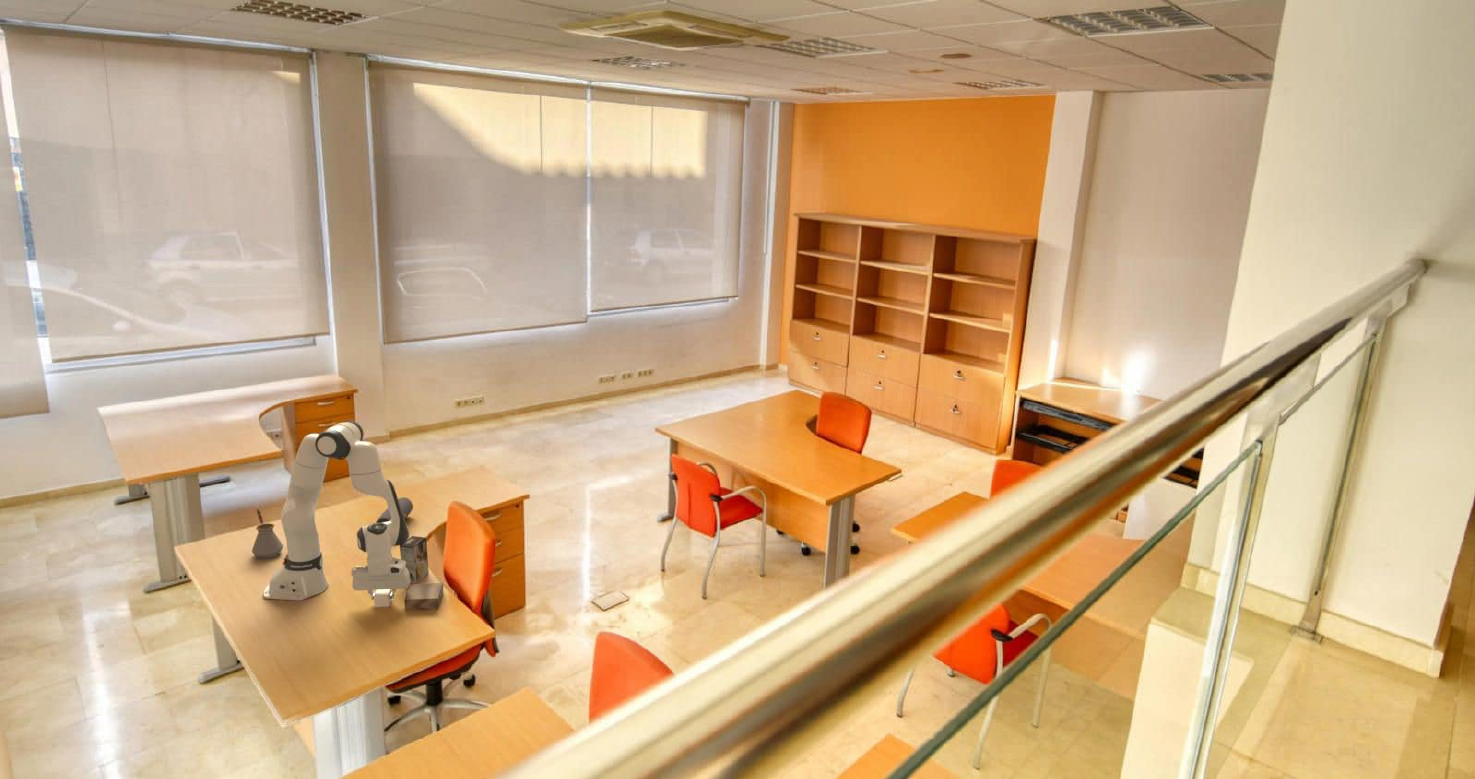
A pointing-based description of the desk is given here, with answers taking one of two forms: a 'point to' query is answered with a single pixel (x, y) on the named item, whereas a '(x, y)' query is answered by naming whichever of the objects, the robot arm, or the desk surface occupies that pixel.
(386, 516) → the bluetooth speaker
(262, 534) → the coffee pot
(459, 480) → the desk surface
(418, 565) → the coffee box
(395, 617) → the desk surface
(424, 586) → the walnut block
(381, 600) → the white cube
